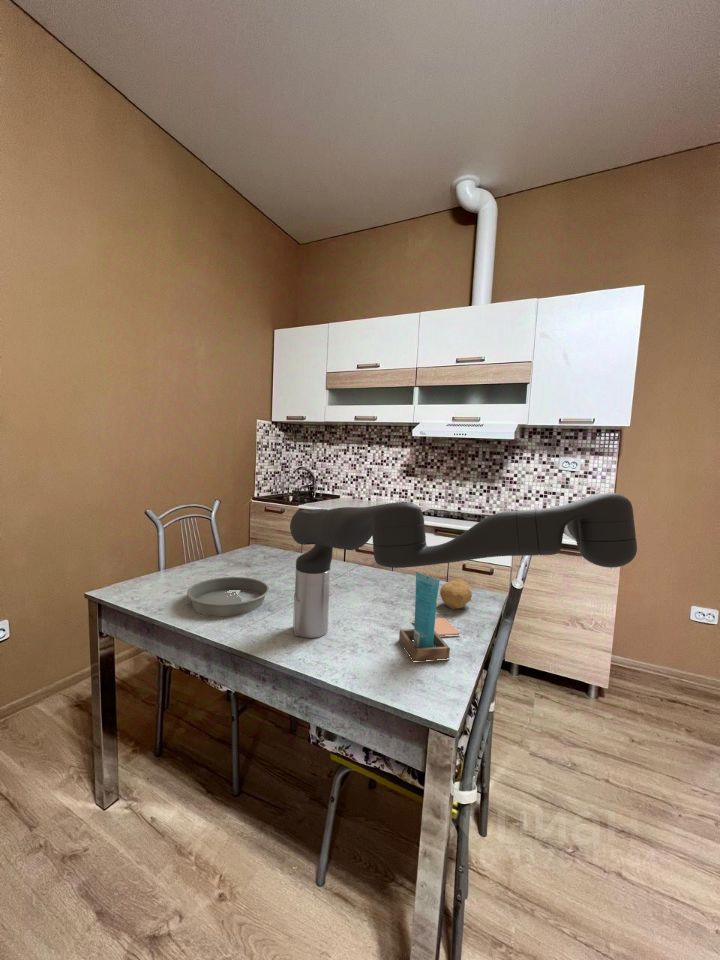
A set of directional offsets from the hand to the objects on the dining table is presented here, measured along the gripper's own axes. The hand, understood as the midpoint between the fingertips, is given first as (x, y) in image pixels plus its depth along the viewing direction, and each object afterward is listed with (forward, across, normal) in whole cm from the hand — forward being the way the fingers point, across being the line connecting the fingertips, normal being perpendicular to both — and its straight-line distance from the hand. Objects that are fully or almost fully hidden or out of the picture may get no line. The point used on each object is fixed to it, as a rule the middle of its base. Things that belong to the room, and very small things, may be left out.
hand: (569, 517), depth 90 cm
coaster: (+17, -43, -16) cm, 49 cm away
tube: (+4, -45, -17) cm, 48 cm away
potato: (+37, -40, -16) cm, 57 cm away
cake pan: (+8, -99, +15) cm, 100 cm away
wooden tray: (+4, -45, -17) cm, 48 cm away
